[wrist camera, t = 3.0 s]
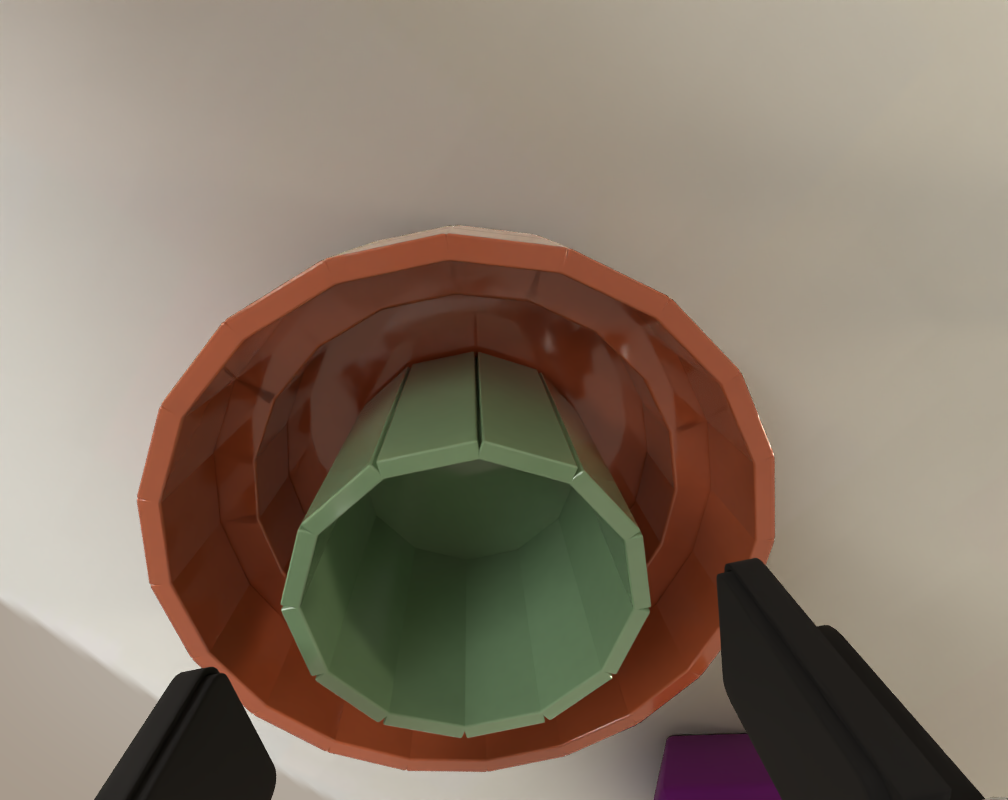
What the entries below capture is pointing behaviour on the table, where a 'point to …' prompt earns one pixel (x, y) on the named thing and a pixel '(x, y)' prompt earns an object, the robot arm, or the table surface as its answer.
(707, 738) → the perfume bottle
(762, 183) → the table surface
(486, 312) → the terracotta bowl
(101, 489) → the table surface
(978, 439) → the table surface
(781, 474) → the table surface
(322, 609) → the green faceted cup
